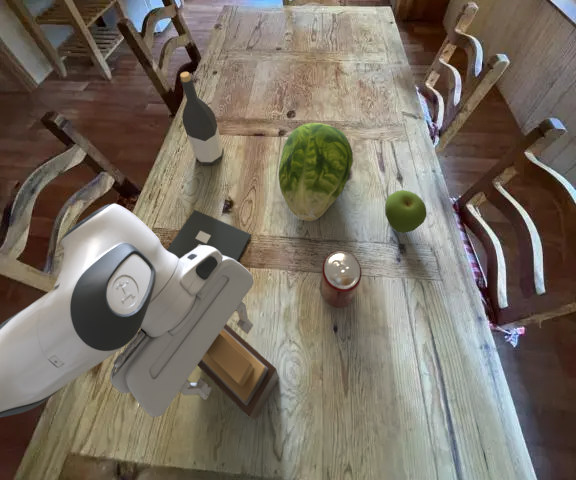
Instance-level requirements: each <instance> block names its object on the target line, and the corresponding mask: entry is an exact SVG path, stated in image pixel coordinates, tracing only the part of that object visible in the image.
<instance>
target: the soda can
mask: <svg viewBox="0 0 576 480" xmlns="http://www.w3.org/2000/svg"><path fill="white" fill-rule="evenodd" d="M321 268H322V269H321V276H320V277H321V278H320V285H319V290H320V295H321V297H322V299H323V301H325V303H326V304H327V305H328V306H330V307H331V308H334V309H345V308H347V307H348V306H350V305H351V304H352V302H353V301H354V299H355V297H356V294H357V291H358V288H359V286H360V283H361V280H362V274H363V271H362V266H361V264H360V261H359V260H358V259H357V257H356V256H355V255H354V254H353V253H350V252H349V251H346V250H343V249H342V250H339V249H338V250H334V251H332V252H330V253H329V254H327V255H326V257H325V258H324V259H323V263H322V267H321Z"/></svg>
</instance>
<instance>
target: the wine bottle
mask: <svg viewBox="0 0 576 480" xmlns="http://www.w3.org/2000/svg"><path fill="white" fill-rule="evenodd" d="M179 77H180V83H181V86H182V89H183V92H184V94H185V95H184V96H185V98H186V102H185V104H184V108H183V112H182V125H183V127H184V131H185V133H186V136H187V138H188V141H189V144H190V146H191V149H192V153H193V155H194V157H195V159H196V160H197V161H198V162H199V164H200V165H202V166H214V165H215V164H216V163H218V162H220V161H221V160H222V159H223V155H224V145H223V142H222V138H221V133H220V130H219V126H218V122H217V118H216V114H215V113H214V111H213V110H212V107H210V106H209V105H208V104H207V103H206V102H205V101H204V100H203V99H201V98H200V97H198V94H197V91H196V88H195V87H196V86H195V84H194V81H193V77H192V76H191V74H190V72H188V71H183V72H181V73H180V75H179Z"/></svg>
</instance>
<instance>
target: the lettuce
mask: <svg viewBox="0 0 576 480" xmlns="http://www.w3.org/2000/svg"><path fill="white" fill-rule="evenodd" d="M280 156H281V157H280V160H279V166H278V182H279V187H280V191H281V195H282V197H283V199H284V200H285V203H286V204H287V207H288V209H289V210H290V212H291V213H292V214H293V215H294V216H295V217H296V218H297V219H299V220H302V221H307V222H309V221H311V222H312V221H316V220H318V219H319V218H321V217H322V216H323V215H324V214H325V213H326V212H327V210H328V209H329V208H330V206H331V205H332V204H333V203H334V202H335V201H336V200H337V199H338V198H339V196H340V195H341V194H342V192H343V191H344V188H345V186H346V184H347V181H348V179H349V176H350V172H351V169H352V166H353V163H354V155H353V149H352V146H351V143H350V142H349V139H348V138H347V136H346V134H345V132H344V131H342V130H341V129H338V128H337V127H335V126H332V125H330V124H326V123H322V122H308V123H304V124H302V125H299V126H297V127H296V128H294V129H293V130H292V131H291V133H290V134H289V135H288V137H287V139H286V140H285V142H284V145H283V147H282V151H281V155H280Z"/></svg>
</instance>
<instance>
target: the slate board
mask: <svg viewBox="0 0 576 480" xmlns="http://www.w3.org/2000/svg"><path fill="white" fill-rule="evenodd" d="M251 238H252V233H249V232H248V231H244V230H242V229H241V228H238V227H236V226H234V225H231V224H229V223H226V222H225V221H222V220H220V219H217V218H216V217H213V216H212V215H208V214H206V213H204V212H201V211H200V210H198V209H193V210H192V212H191V213H190V215H189V217H187V219H186V220H185V222H184V223H183V225H182V227H181V228H180V230H179V231H178V233H177V234H176V236H175V237H174V239H173V240H172V242H171V243H170V244H169V246H168V248H167V249H166V250H167V251H168V252H170V253H172V254H174V255H176V256H177V257H178V258H179V259H180V258H182V257H183V256H185V255H186V254H188V253H189V252H191V251H192V250H194V249H195V248H197V247H198V246H200V245H207V246H211V247H214V248H216V249H217V250H218V251H219V252H220V253H221V254H222V255H224V256H227V257H230V258H232V259H234V260H236V261H237V262H239V261H240V258H241V257H242V254H243V253H244V251H245V249H246V247H247V245H248V243H249V241H250V239H251Z"/></svg>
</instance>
